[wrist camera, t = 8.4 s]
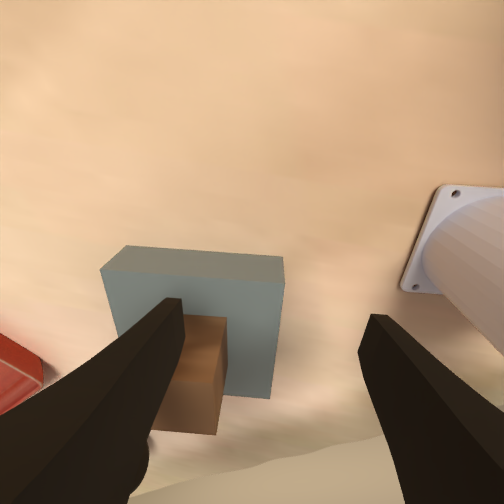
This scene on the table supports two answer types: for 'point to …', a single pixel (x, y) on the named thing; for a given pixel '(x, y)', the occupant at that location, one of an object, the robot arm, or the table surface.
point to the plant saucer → (17, 374)
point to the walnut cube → (197, 379)
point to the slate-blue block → (207, 302)
